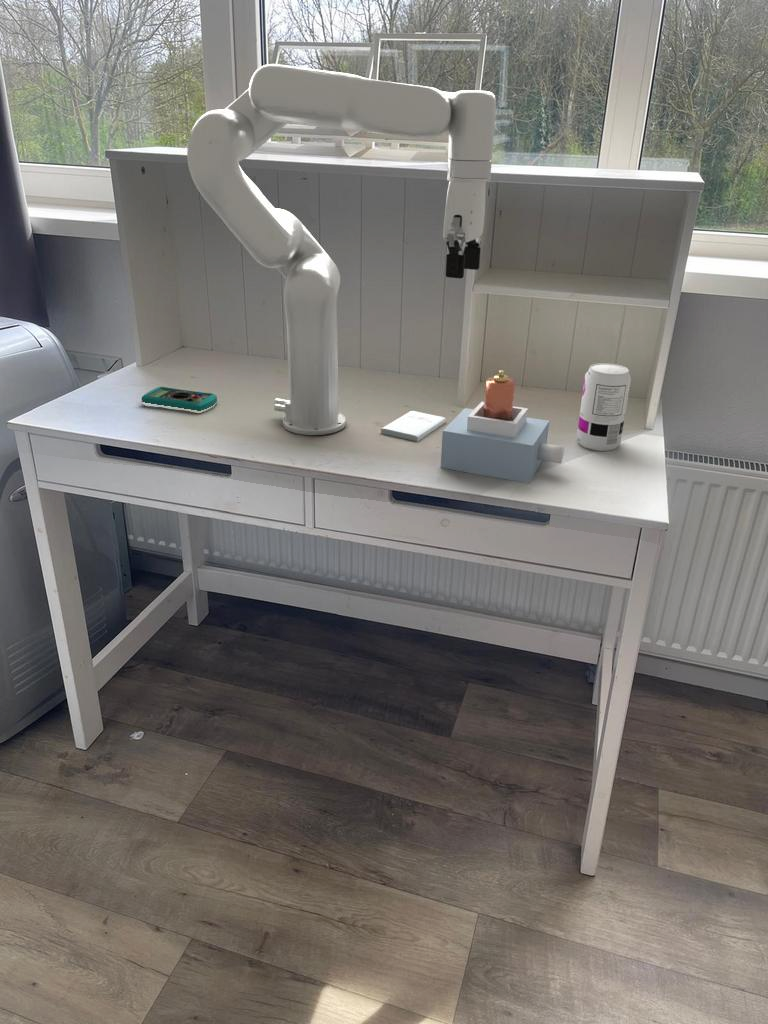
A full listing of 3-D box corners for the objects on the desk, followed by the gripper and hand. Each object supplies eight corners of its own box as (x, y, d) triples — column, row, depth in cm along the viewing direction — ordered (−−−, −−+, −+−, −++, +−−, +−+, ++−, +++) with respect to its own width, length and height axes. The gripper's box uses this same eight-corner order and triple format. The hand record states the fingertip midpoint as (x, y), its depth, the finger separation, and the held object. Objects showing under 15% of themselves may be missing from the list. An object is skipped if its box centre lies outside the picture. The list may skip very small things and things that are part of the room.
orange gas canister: (479, 426, 138) (483, 372, 133) (486, 417, 142) (491, 365, 137) (507, 431, 136) (512, 376, 132) (514, 422, 140) (519, 369, 136)
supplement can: (567, 443, 151) (577, 367, 144) (591, 433, 156) (601, 359, 149) (604, 455, 146) (617, 377, 139) (627, 444, 151) (640, 369, 144)
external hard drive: (380, 435, 154) (410, 417, 164) (417, 443, 151) (445, 424, 160) (380, 427, 153) (410, 409, 163) (417, 436, 150) (445, 416, 159)
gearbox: (440, 467, 139) (443, 417, 135) (462, 442, 150) (465, 395, 146) (552, 487, 133) (558, 435, 128) (566, 460, 143) (573, 411, 139)
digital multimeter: (203, 416, 162) (202, 403, 160) (140, 407, 166) (139, 394, 164) (220, 405, 168) (219, 392, 167) (160, 397, 172) (158, 384, 171)
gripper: (463, 168, 144) (457, 264, 151) (432, 173, 129) (427, 279, 137) (503, 169, 141) (495, 267, 149) (475, 175, 127) (468, 283, 135)
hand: (462, 273), depth 143 cm, fingers open, 9 cm apart
